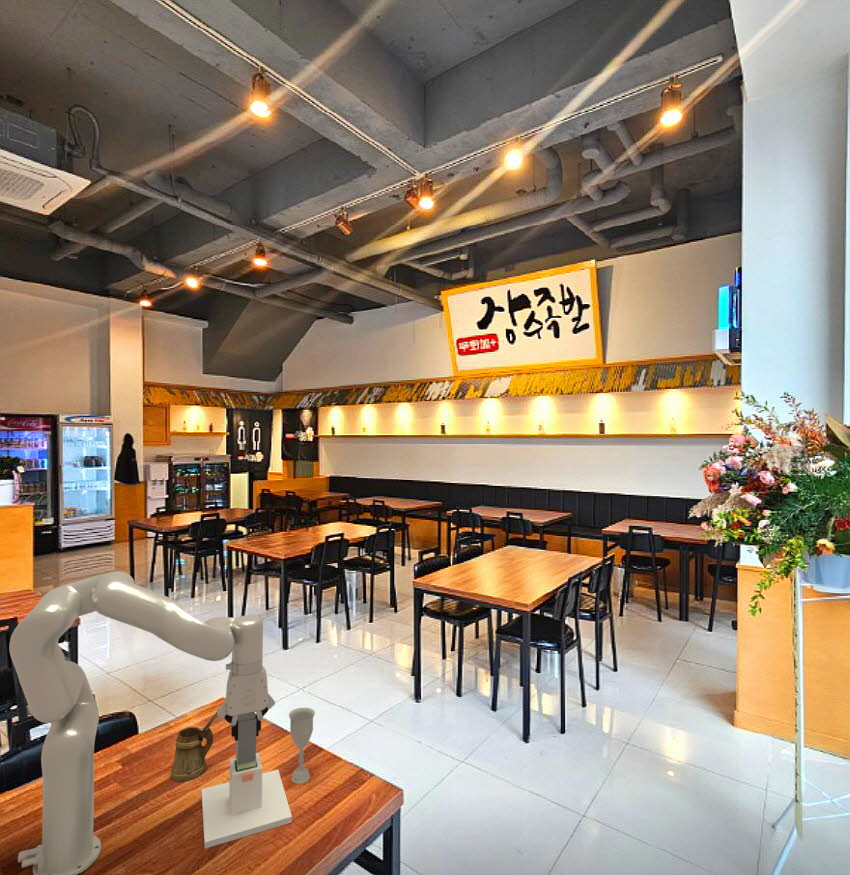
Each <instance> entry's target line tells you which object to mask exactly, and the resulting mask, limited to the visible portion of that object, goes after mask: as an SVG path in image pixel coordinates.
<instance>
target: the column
mask: <svg viewBox="0 0 850 875" xmlns="http://www.w3.org/2000/svg"><path fill="white" fill-rule="evenodd" d="M237 723H238V740H237V741H235V743H236V744H235V758H236V772H239V771H243V770H247V769H251V768H255V767H256V753H257V737H256V712H252V713H247V714H242V715H238V718H237Z"/></svg>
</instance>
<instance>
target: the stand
mask: <svg viewBox="0 0 850 875" xmlns="http://www.w3.org/2000/svg"><path fill="white" fill-rule="evenodd" d="M228 778H229V779H228V780H229V781H227V782H224V783H221V784H219V783H218V784H216V785H212V786H208V787H205V788H202V789H201V806H202V808H201V809H202V810H201V811H202V824H203V825H202V826H203V842H204V849H209V848H212V847H216V846H218V845H222V844H226V843H229V842H233V841H235V840H239V839H242V838H245V837H248V836H253V835H256V834H258V833H262V832H265V831H269V830H272V829H275V828H278V827H282V826H285V825H288V824H289V825H290V824H291V823H293V815H292V812H291V809H290V806H289V802H288V799H287V796H286V792H285V788H284V784H283V782H282V777H281V774H280V770H279V769H275V770H271V771H268V772H263V766H262V762H261V758H260V754H259V752H256V767H255V768H251V769H247V770H243V771H239V772H236V757H233V758H229V777H228Z"/></svg>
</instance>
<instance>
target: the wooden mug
mask: <svg viewBox="0 0 850 875" xmlns="http://www.w3.org/2000/svg"><path fill="white" fill-rule="evenodd" d="M218 710H219V708H218V709H217V710H216V712H215V713H214V714H213V716H212V718H210V720H209V721H208V722H207V723H206V725H205V726H204V727H203V728H199V727H198V726H189V727H185V728H183V729H181V730H180V731H178V733H177V737H176V739H175V744H174V745H175V752H174V757H173V764H172V768H171V771H170V778H171V779H172V780H173V781H174V782H178V783H179V782H180V783H181V782H188V781H191V780H194V779H196V778H198V777H199V776H201V775H202V774H203V772H204V771H205V770H206V769H207V761H206V756H207V754H208V753H209V751H210V749H211V747H212V746H213V743H214V734H213V731H212V729H211V725H212V723H213V722H214V721H215V719H216V718H218V716H217V711H218ZM204 740H206V743H205V745H204V746H203V743H202V742H204Z"/></svg>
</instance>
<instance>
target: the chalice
mask: <svg viewBox="0 0 850 875" xmlns="http://www.w3.org/2000/svg"><path fill="white" fill-rule="evenodd" d="M315 714H316V711H315V710H314V709H312V708H310V707H298V708H293V710H291V711H290V712H289V713H288V717H289V719H290V723H289V724H290V727H289V728H290V736H291V739H292V741H293V743H294V745H295V747H296V748H298V749H299V751H298V756H299V759H298V760H297V762H298V764H299V765H298V767H297V768H295V769H294V772H293V774H292V777H291V781H292V782H293V783H294V784H297V785H298V784H299V785H300V784H305V783H306V782H308V781H309V780H310V779H311V775H310V772H309V770H308V768H307V766H304V762H305V758H304V755H305V752H304V748H306V747H307V745H308V743H309V741H310V739H311V737H312V734H313V731H314V717H315Z"/></svg>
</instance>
